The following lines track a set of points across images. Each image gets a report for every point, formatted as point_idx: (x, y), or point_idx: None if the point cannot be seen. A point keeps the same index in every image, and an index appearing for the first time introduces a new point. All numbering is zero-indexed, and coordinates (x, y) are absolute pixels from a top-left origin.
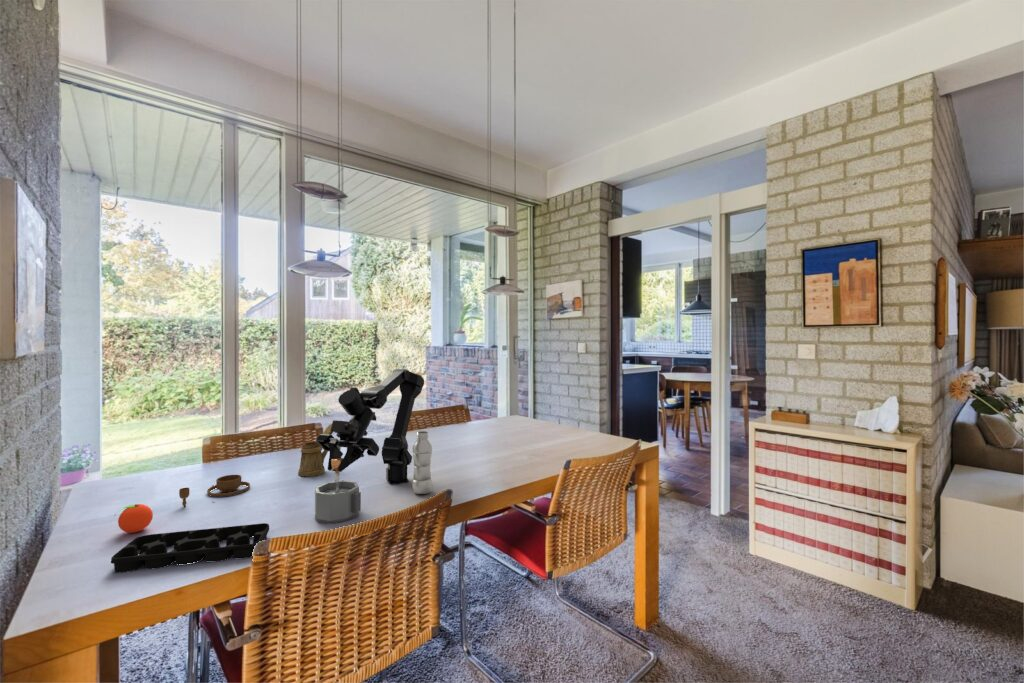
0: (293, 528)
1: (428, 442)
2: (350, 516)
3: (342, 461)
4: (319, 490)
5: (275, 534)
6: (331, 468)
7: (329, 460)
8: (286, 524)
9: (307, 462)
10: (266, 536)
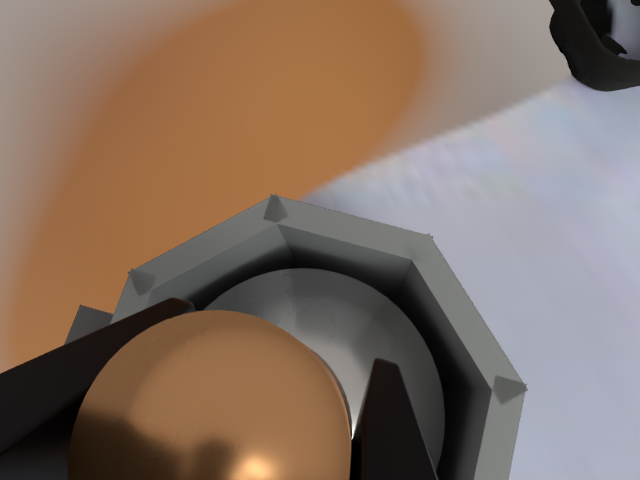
0: (494, 189)
1: None
2: None
3: (75, 372)
4: (479, 405)
5: (550, 113)
6: (327, 365)
7: (417, 475)
8: (574, 240)
9: None
10: (578, 76)
